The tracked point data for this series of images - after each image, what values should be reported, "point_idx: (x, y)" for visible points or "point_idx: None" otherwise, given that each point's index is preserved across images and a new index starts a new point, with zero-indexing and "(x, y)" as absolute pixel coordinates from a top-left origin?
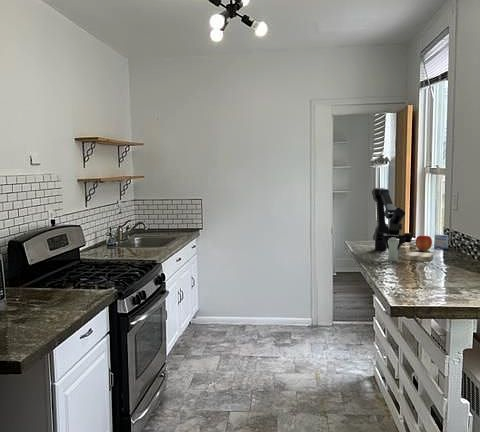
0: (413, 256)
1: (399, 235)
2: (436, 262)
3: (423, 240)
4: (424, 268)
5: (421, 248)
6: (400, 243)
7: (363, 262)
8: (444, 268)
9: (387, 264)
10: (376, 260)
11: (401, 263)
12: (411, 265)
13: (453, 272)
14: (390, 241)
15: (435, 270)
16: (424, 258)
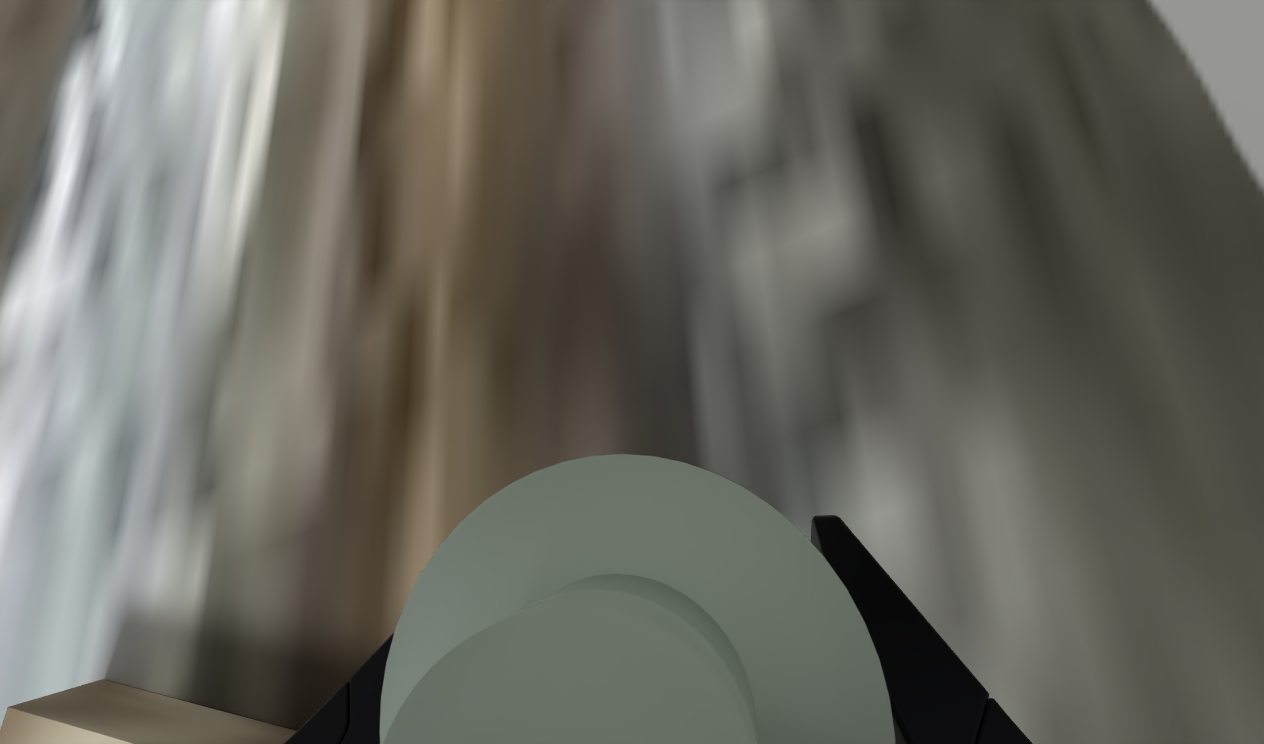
0: None
1: None
2: (28, 636)
3: None
4: (258, 128)
5: None
6: (345, 686)
7: (1198, 157)
8: (41, 232)
9: (742, 169)
10: (1005, 454)
11: (535, 341)
12: (397, 248)
13: (13, 64)
14: (756, 497)
15: (160, 75)
16: (125, 716)
